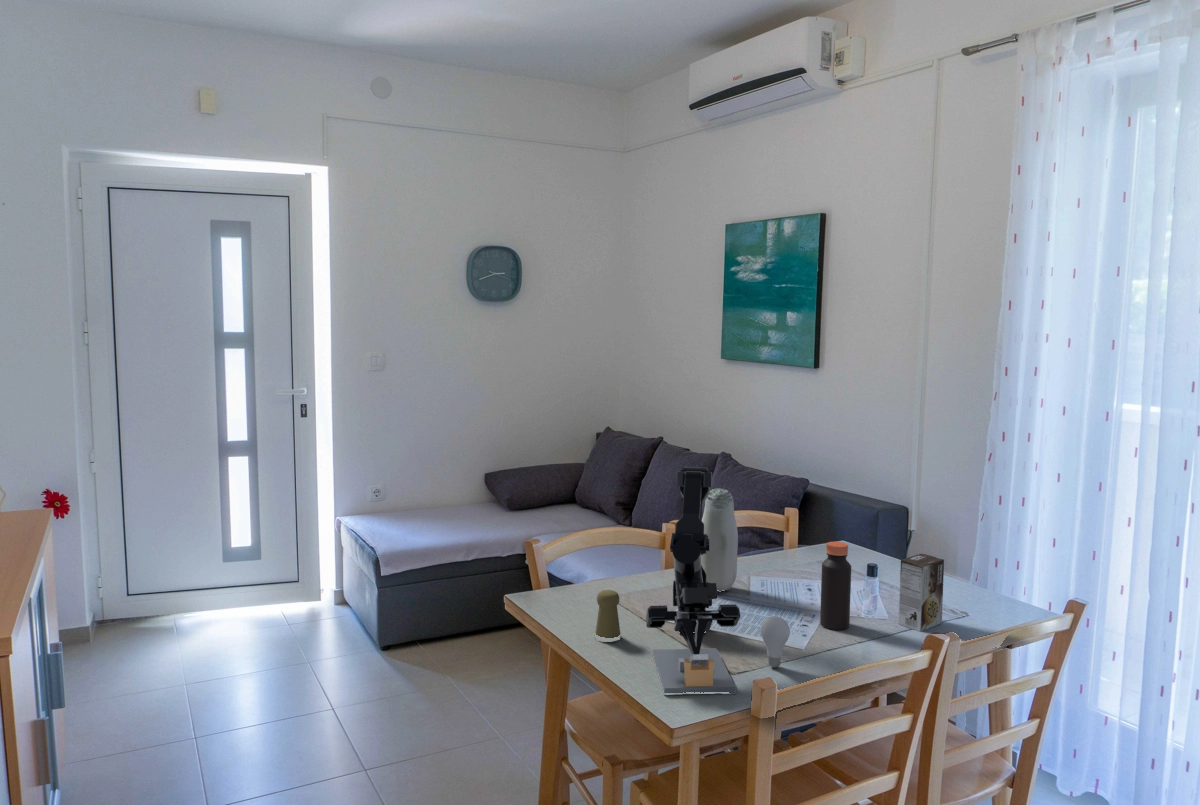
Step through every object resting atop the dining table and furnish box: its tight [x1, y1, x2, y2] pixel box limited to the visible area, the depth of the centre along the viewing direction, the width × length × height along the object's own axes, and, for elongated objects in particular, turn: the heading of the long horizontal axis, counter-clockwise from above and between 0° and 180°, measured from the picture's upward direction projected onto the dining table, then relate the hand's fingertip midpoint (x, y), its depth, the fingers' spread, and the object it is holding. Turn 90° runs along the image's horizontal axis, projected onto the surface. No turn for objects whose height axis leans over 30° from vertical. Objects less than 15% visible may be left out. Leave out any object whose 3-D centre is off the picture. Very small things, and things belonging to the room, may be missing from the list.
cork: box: [595, 589, 621, 638], centre depth 190 cm, size 6×6×11 cm
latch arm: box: [689, 654, 708, 666], centre depth 165 cm, size 10×3×1 cm
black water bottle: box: [819, 541, 852, 631], centre depth 198 cm, size 7×7×20 cm
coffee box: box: [898, 553, 945, 632], centre depth 199 cm, size 9×6×16 cm
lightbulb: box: [759, 615, 791, 668], centre depth 174 cm, size 6×6×11 cm
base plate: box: [652, 647, 736, 694], centre depth 171 cm, size 19×14×6 cm
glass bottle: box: [701, 487, 739, 591], centre depth 223 cm, size 10×10×28 cm
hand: (696, 657), depth 165 cm, fingers closed, pressing on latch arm
